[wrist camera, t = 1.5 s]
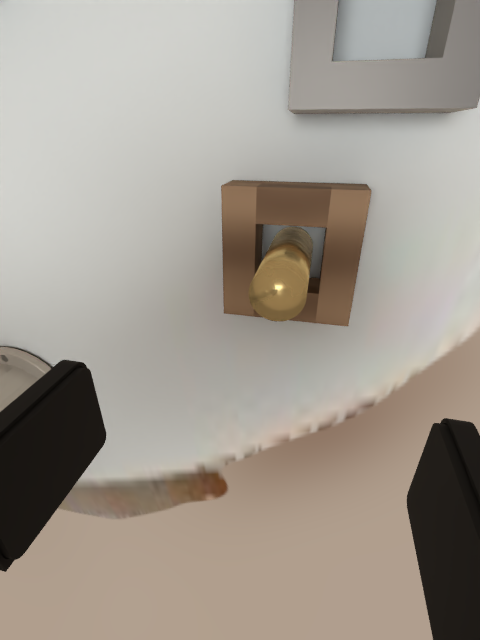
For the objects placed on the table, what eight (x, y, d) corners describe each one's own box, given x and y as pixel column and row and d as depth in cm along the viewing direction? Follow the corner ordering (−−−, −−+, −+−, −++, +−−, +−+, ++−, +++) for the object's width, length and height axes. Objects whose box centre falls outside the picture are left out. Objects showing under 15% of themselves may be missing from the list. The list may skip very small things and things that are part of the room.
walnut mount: (346, 308, 27) (348, 326, 24) (233, 297, 29) (223, 313, 26) (366, 184, 23) (371, 190, 20) (232, 180, 24) (221, 185, 22)
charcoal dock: (450, 112, 20) (476, 107, 17) (294, 113, 22) (287, 109, 18) (508, -118, 16) (558, -188, 12) (307, -94, 18) (303, -150, 14)
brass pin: (310, 268, 26) (303, 324, 18) (271, 265, 27) (248, 318, 19) (314, 227, 25) (309, 270, 17) (272, 225, 25) (248, 265, 17)
